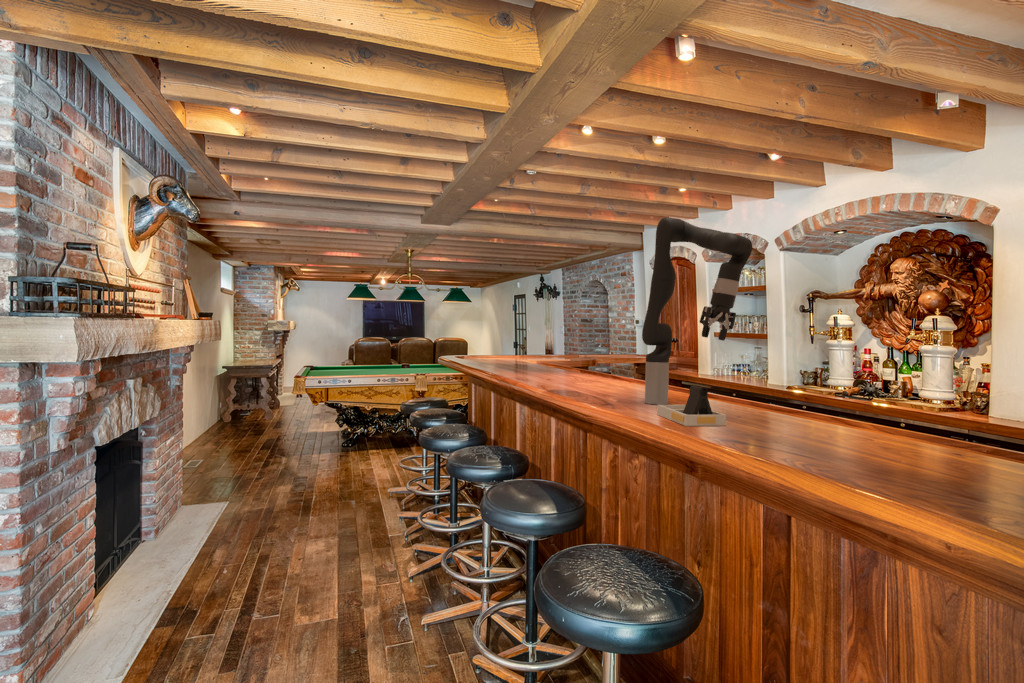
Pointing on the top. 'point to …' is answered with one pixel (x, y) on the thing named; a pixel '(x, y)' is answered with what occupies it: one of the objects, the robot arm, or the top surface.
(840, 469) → the top surface
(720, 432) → the top surface
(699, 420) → the tray
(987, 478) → the top surface
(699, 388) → the door stopper
